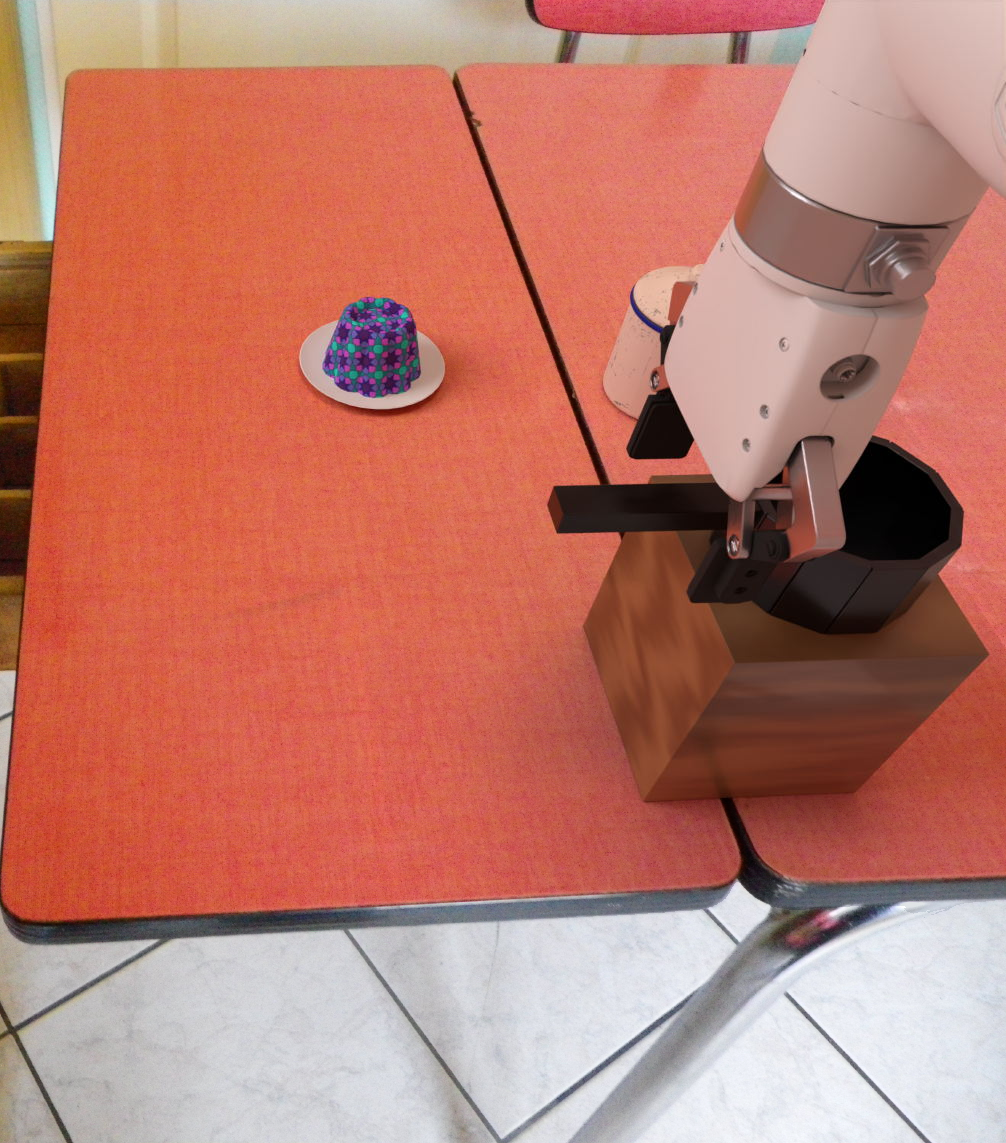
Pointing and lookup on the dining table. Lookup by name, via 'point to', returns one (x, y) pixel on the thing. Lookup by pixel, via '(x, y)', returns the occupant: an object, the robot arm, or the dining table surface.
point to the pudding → (373, 357)
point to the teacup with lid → (642, 338)
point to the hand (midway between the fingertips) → (684, 522)
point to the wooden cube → (759, 679)
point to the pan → (829, 583)
